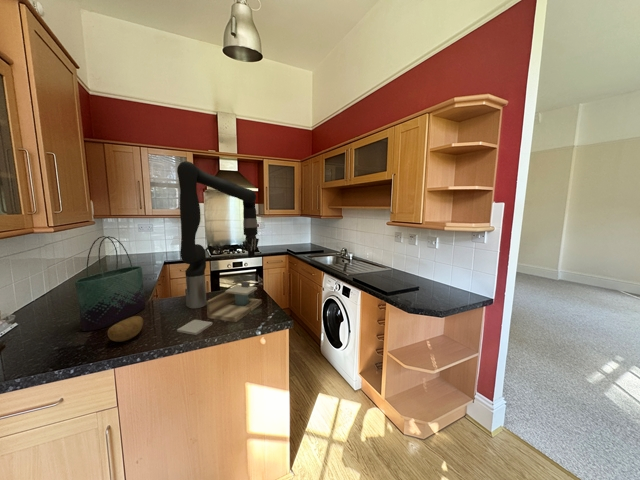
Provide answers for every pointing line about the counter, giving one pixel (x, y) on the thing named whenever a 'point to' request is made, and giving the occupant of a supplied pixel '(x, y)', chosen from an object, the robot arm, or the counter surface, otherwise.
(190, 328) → the mat
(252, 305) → the puzzle board
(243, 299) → the block
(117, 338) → the potato
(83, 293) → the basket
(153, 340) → the counter surface
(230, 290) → the cover
